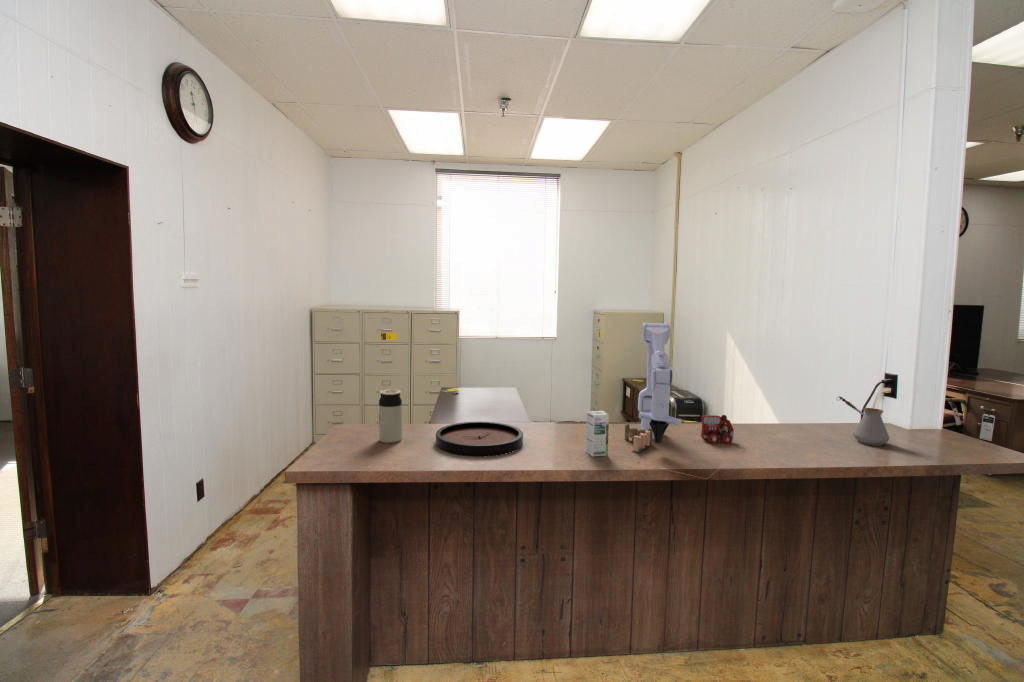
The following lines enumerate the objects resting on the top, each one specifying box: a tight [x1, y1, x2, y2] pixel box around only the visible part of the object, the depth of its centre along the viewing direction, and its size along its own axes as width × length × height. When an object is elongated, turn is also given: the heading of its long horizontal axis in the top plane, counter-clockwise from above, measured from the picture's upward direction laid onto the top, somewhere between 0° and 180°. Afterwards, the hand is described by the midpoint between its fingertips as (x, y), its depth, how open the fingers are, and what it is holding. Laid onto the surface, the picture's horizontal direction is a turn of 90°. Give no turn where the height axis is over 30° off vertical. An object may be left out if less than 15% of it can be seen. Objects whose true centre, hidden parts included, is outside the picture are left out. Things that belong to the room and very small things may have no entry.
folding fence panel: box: [632, 431, 651, 452], centre depth 179 cm, size 10×1×5 cm, turn 140°
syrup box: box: [585, 410, 610, 458], centre depth 174 cm, size 6×6×14 cm
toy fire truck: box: [700, 414, 735, 445], centre depth 191 cm, size 7×12×10 cm, turn 94°
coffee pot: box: [836, 396, 890, 447], centre depth 199 cm, size 21×12×15 cm, turn 14°
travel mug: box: [378, 389, 403, 444], centre depth 184 cm, size 8×8×18 cm
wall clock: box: [435, 421, 524, 458], centre depth 184 cm, size 31×4×31 cm
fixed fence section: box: [624, 423, 653, 446], centre depth 187 cm, size 2×11×6 cm, turn 51°
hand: (658, 442), depth 174 cm, fingers closed
